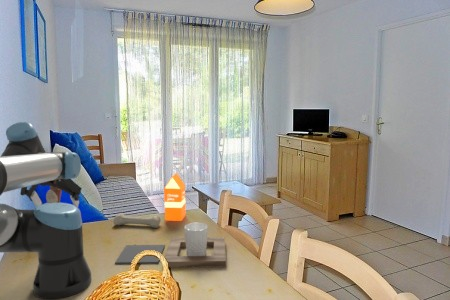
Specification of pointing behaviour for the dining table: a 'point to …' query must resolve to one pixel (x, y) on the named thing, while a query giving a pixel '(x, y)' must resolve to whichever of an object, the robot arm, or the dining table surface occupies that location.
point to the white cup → (196, 239)
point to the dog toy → (137, 220)
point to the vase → (53, 195)
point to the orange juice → (175, 199)
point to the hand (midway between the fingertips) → (58, 205)
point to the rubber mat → (133, 250)
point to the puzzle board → (196, 261)
